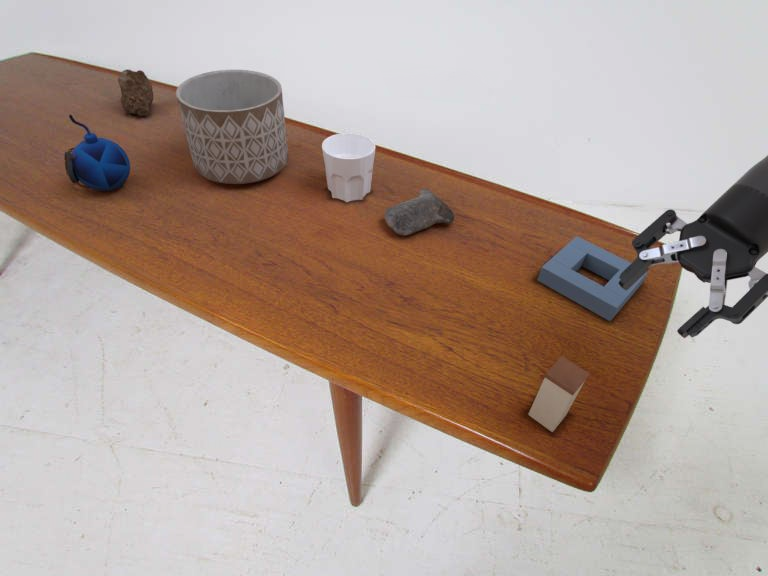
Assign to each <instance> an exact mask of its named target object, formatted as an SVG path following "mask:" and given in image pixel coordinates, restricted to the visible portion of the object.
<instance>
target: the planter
mask: <svg viewBox="0 0 768 576" xmlns="http://www.w3.org/2000/svg"><path fill="white" fill-rule="evenodd" d="M175 96H176V100H177V105H178V108H179V111H180V117H181V120H182V124H183V128H184V132H185V137H186V140H187V141H186V142H187V145H188V149H189V152H190V156H191V161H192V165H193V167H194V169H195V171H196V172H197V173H198V174H199V175H200V176H202V177H203V178H205V179H207V180H209V181H212V182H216V183H219V184H225V185H244V184H246V185H247V184H252V183H257V182H260V181H264V180H267V179H269V178H272V177H273V176H275V175H277V174H278V173H280V172H281V171H283V169H284V168H285V167H286V165H287V163H288V160H289V148H288V137H287V127H286V118H285V108H284V98H283V87H282V84H281V82H280V81H279V80H277V79H276V78H275V77H273V76H271V75H269V74H267V73H263V72H260V71H256V70H255V71H254V70H249V69H222V70H221V69H219V70H213V71H208V72H207V71H206V72H203V73H200V74H197V75H194V76H192V77H190V78H188V79H186V80H184V81H183V82H181V83H180V84H179V85H178V86H177V88H176V91H175Z"/></svg>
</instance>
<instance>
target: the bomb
mask: <svg viewBox="0 0 768 576" xmlns="http://www.w3.org/2000/svg"><path fill="white" fill-rule="evenodd" d="M68 118H69V120H70V121H71V122H72V123H73V124H75V125H76V126H77V125H78V126H80V127H82V128H83V129H84V130H85V132H86V134H84V135H83V139H84V140H82V141H80V142H79V143H78V144H77V145H75V147H71V148H69V149H68V150H67V151H65V152H64V168H65V171H66V176H68V178H69V180H70V182H71V183H72V184H76V185H78V186H79V187H81V188H84V189H87V190H90V189H92V190H95V191H99V192H109V191H113V190H116V189H118V188H120V187H121V186H122V185H123V184H125V183H126V182H127V179H128V178H129V176H130V173H131V162H130V158H129V156H128V155H127V153H126V151H125V150H124V149H123V147H122V146H120V144H118V143H117V142H115V141H112V140H111V139H107V138H105V137H98V136H97V134H95V133H94V132H91V131H90V129H89V127H88V126H87V125H85V124H84V123H81V122H79V121H78V120H75V119H74V117H73V115H72V114H68Z"/></svg>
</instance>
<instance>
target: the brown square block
mask: <svg viewBox="0 0 768 576" xmlns="http://www.w3.org/2000/svg"><path fill="white" fill-rule="evenodd" d="M589 375H590V373H589V372H588V371H586V370H585V369H583V368H581V367H580V366H578V365H577V364H575V363H574V362H572V361H571V360H569V359H568V358H566V357H564V356H560V357H559V358H558V359H557V360H556V361H555V363H554V364H553V365H552V366H551V367H550V368H549V370H547V372H546V373H545V375H544V379H543V381H542V383H541V385H540V387H539V389H538V392H537V394H536V396H535V398H534V400H533V403H532V405H531V407H530V409H529V412H528V414H527V415H528V416H529V417H531V418H532V419H533V420H535V421H536V422H537V423H539V424H540V425H542V426H543V427H544V428H545V429H547V430H548V431H550V432H551V433H554V431H555V430H556V429H557V427H558V426H559V425H560V424H561V423H562V421H563V420H564V419H565V417H566V416H567V414H568V413H569V411H570V409H571V407H572V406H573V403H574V402H575V400H576V398H577V396H578V395H579V392H580V391H581V389H582V387H583V385H584V383H585V382H586V381H587V379H588V378H589Z"/></svg>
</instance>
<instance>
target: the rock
mask: <svg viewBox="0 0 768 576" xmlns="http://www.w3.org/2000/svg"><path fill="white" fill-rule="evenodd" d="M117 79H118V80H117V82H118V85H119V88H120V93H121V97H120V103H121V105H122V108H123V111H124V112H125V113H126V114H129V115H131V114H134V115H137V116H138V117H142V118H143V117H144V118H146V117H147V116H148V115H149V113H150V106H151V105H153V101H154V91H153V85H152V84H151V82H150V80H149V77H147V75H146V73H145V71H143V70H140V69H139V70H137V71H135V70H131V69H124V70H122V72H121V73H120V74H119V76H118V77H117Z"/></svg>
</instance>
